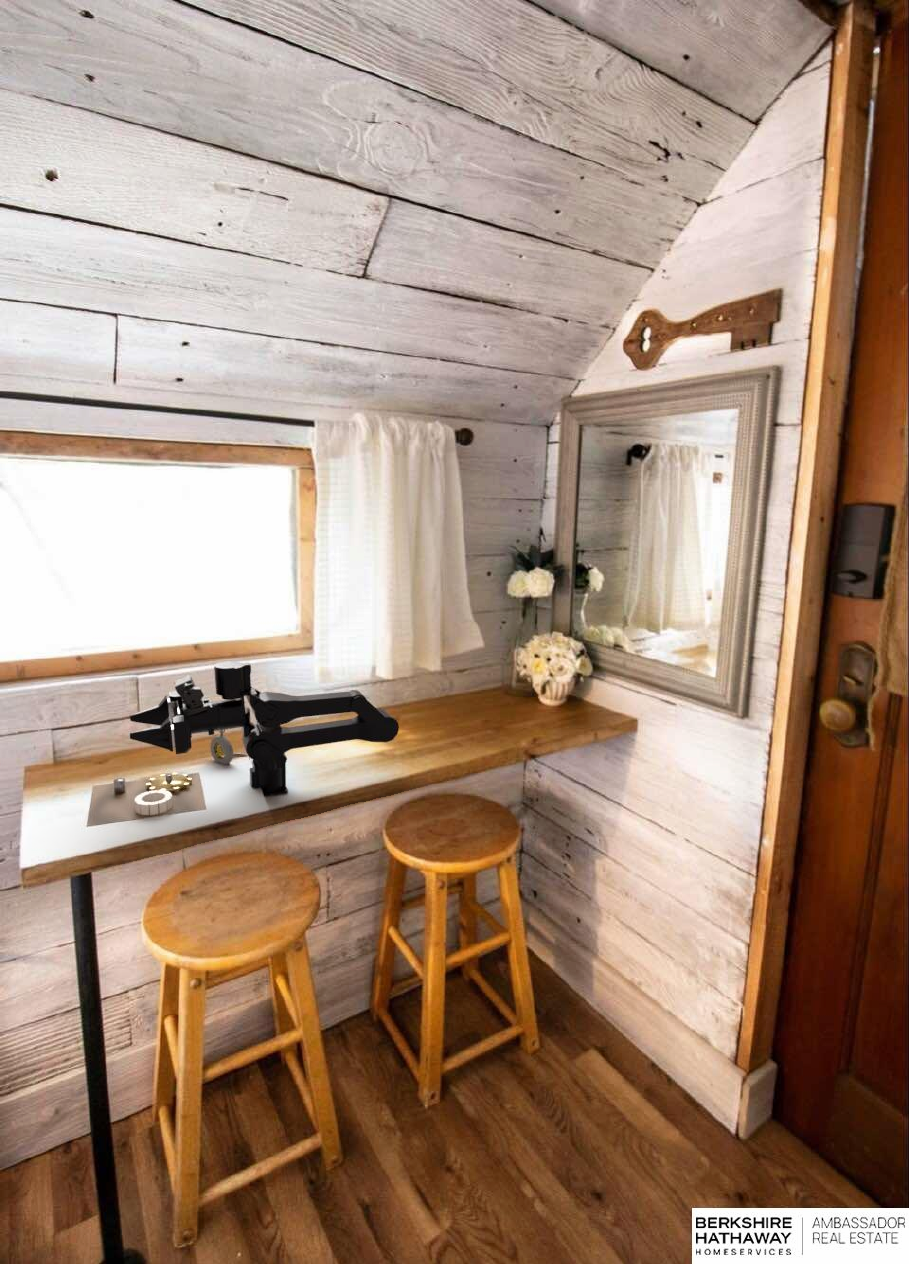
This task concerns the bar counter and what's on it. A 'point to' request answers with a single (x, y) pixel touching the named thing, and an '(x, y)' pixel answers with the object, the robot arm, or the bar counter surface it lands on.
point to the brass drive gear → (169, 783)
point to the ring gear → (153, 802)
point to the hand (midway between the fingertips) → (130, 726)
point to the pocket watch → (223, 749)
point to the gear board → (122, 806)
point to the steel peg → (119, 786)
